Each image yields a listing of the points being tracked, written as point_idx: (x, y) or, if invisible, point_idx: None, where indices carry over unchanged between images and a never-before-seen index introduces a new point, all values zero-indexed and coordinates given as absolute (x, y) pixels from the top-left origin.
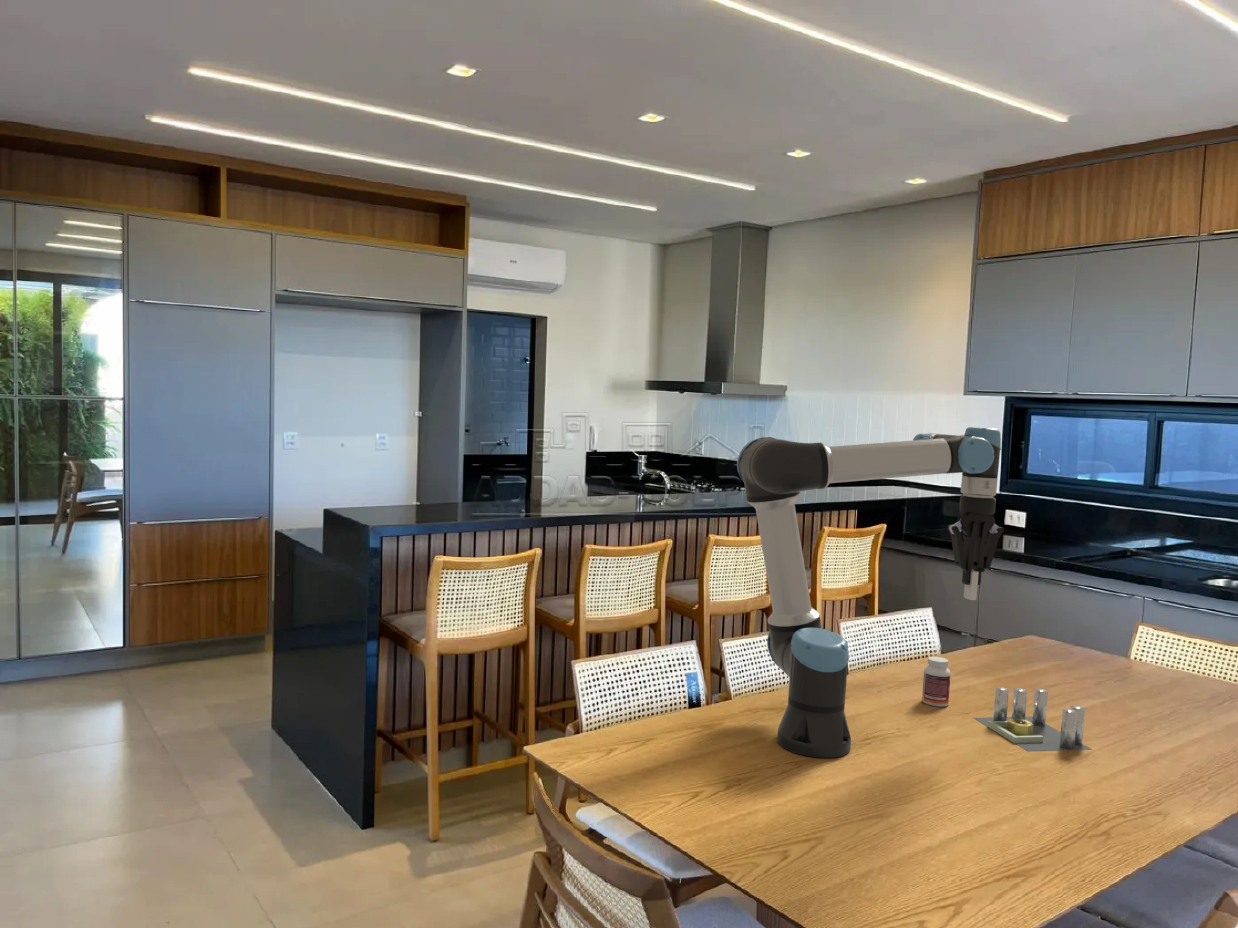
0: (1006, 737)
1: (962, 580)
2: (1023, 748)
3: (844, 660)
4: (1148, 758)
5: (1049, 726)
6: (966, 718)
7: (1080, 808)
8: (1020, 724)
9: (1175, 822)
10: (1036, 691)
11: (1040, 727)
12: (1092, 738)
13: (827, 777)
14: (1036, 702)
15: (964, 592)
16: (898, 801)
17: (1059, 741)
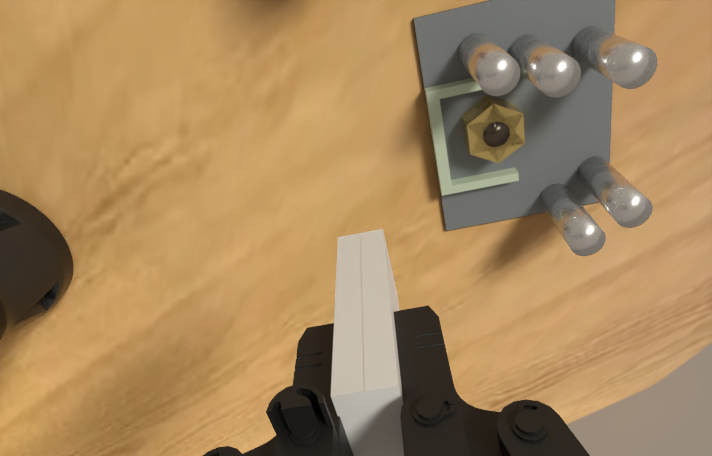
0: (436, 164)
1: (299, 351)
2: (444, 217)
3: None
4: (708, 219)
5: None
6: (396, 11)
7: None
8: (486, 150)
9: None
10: (613, 73)
11: None
12: (675, 116)
13: (44, 367)
14: (598, 68)
15: (338, 260)
16: (152, 417)
17: (560, 164)
